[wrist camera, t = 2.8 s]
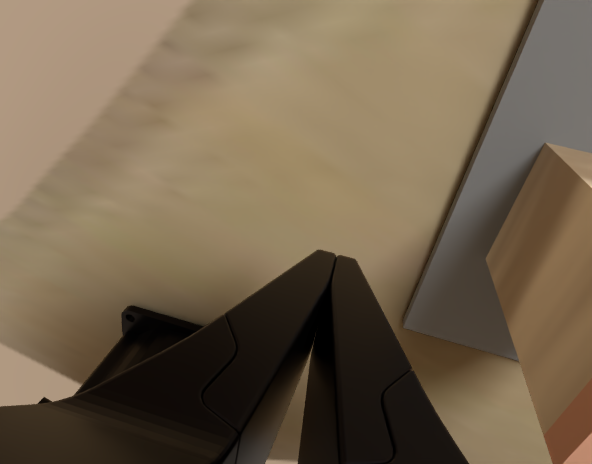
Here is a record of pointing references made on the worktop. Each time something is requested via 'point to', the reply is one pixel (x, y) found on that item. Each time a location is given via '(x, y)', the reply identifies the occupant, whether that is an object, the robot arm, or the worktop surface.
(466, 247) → the mat
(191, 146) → the worktop surface
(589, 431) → the block
